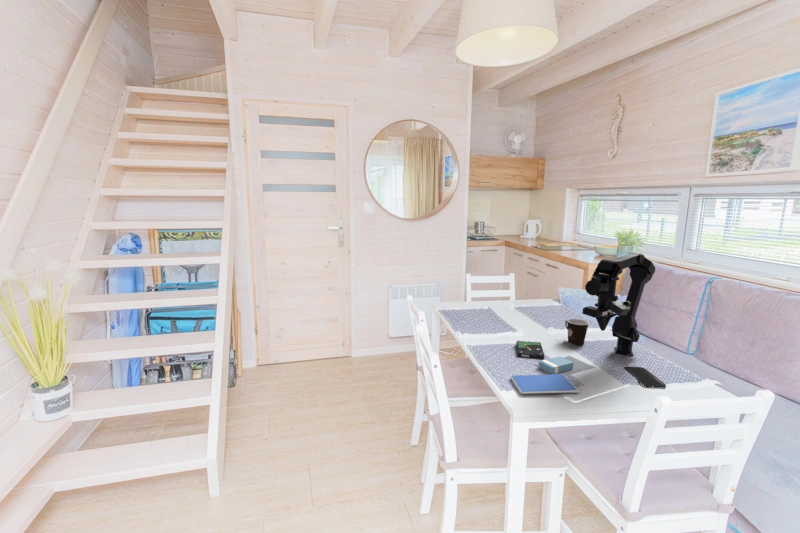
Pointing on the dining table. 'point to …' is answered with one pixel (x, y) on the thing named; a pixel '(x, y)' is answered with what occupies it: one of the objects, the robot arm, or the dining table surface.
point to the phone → (644, 377)
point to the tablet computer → (543, 384)
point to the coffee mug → (576, 331)
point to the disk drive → (529, 349)
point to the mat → (577, 366)
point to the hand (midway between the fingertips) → (602, 330)
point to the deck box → (556, 365)
